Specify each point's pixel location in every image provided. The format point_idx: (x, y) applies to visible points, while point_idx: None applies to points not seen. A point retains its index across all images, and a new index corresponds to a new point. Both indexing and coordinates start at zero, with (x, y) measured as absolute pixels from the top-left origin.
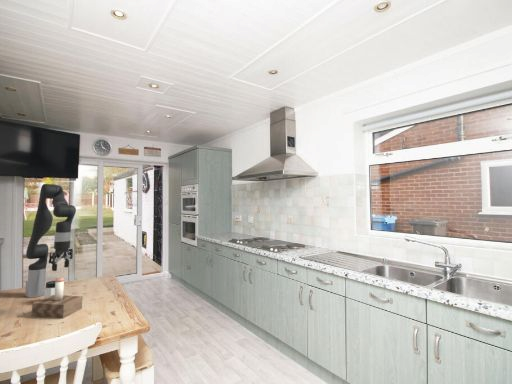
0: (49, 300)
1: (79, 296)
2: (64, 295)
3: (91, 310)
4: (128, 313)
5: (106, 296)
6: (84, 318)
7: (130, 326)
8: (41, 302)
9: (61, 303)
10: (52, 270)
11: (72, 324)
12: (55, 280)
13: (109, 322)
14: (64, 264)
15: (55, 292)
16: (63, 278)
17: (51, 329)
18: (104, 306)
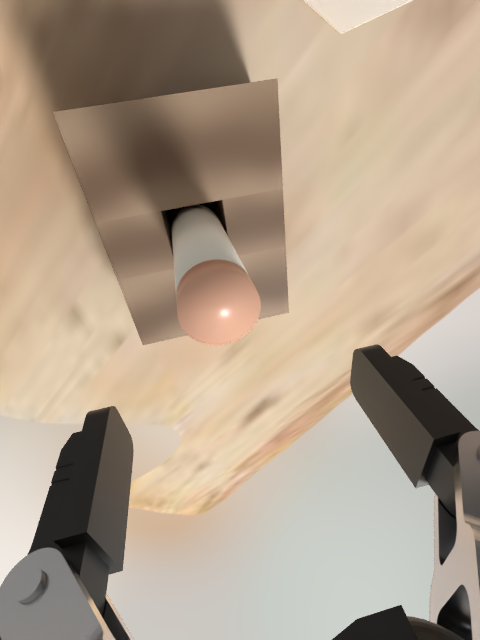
0: (160, 190)
1: (284, 299)
2: (281, 191)
3: (260, 333)
4: (267, 443)
5: (443, 248)
6: (183, 374)
7: (188, 498)
8: (102, 175)
9: (153, 315)
10: (91, 414)
11: (122, 384)
12: (182, 284)
13: (188, 451)
14: (381, 381)
15: (173, 254)
16: (236, 335)
17: (48, 363)
18: (312, 341)
